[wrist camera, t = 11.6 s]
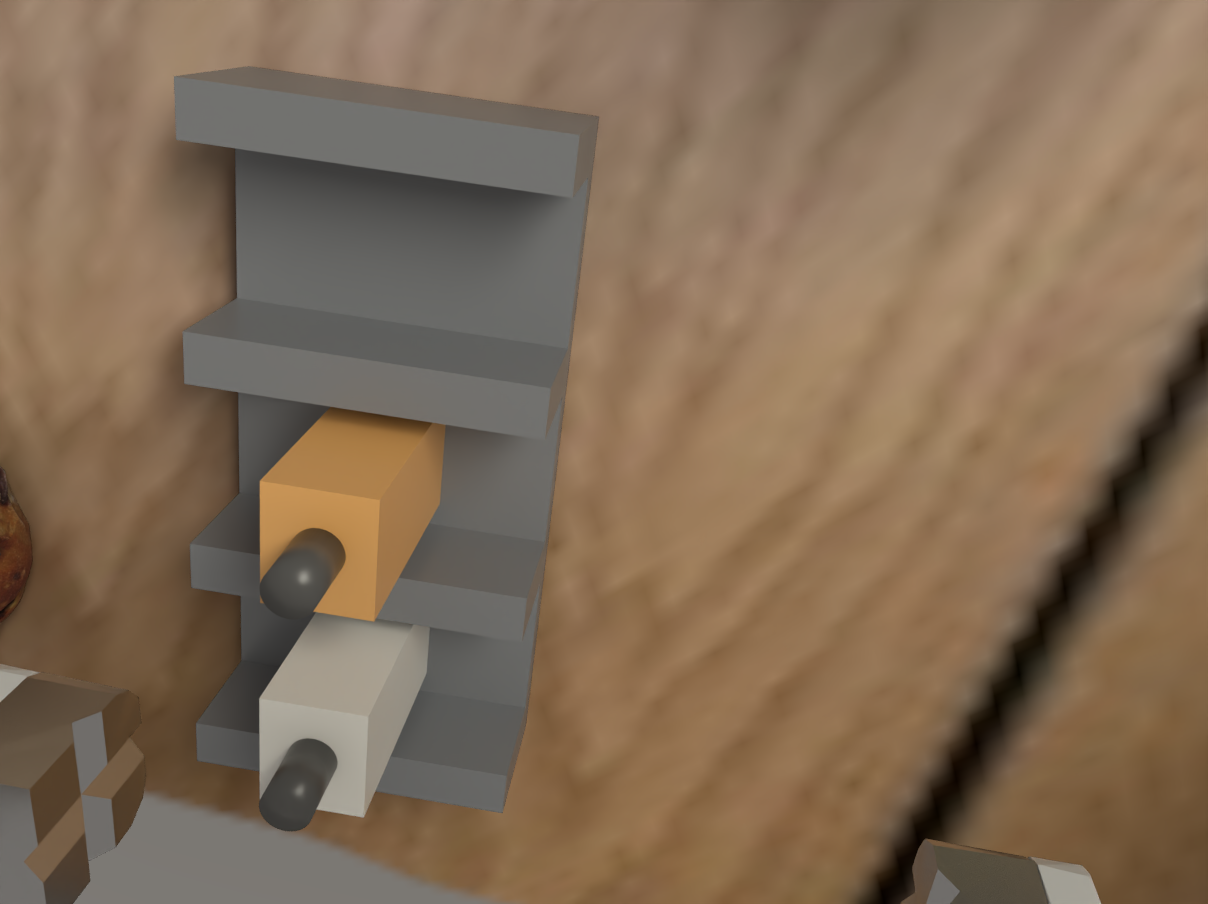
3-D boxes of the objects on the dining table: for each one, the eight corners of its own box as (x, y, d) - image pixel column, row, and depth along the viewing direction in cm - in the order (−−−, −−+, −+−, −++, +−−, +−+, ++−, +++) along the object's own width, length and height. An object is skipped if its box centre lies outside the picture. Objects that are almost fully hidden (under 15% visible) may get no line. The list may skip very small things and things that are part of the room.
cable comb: (598, 116, 29) (579, 135, 25) (525, 724, 38) (502, 813, 34) (249, 66, 30) (174, 76, 26) (253, 679, 38) (197, 760, 34)
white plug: (432, 585, 35) (344, 765, 27) (426, 673, 36) (340, 871, 28) (343, 570, 35) (227, 746, 27) (340, 658, 36) (229, 851, 28)
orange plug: (447, 400, 32) (353, 537, 24) (439, 503, 34) (349, 666, 25) (350, 386, 32) (224, 517, 24) (347, 488, 34) (227, 646, 25)
